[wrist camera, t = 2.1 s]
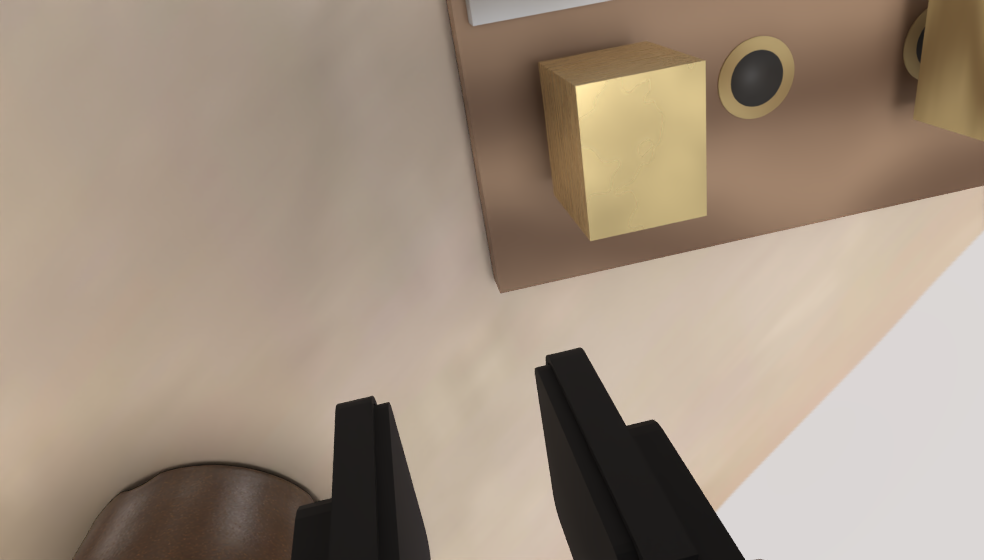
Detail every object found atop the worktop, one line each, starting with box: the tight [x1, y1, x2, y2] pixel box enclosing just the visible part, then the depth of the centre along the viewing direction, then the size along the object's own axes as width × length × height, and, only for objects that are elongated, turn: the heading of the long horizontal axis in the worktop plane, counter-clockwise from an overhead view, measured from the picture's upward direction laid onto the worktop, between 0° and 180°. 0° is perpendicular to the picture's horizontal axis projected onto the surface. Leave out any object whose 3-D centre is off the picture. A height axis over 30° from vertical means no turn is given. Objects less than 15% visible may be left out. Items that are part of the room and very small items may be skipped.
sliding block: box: [538, 41, 707, 241], centre depth 24 cm, size 5×4×6 cm
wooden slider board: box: [446, 0, 984, 293], centre depth 25 cm, size 14×23×8 cm, turn 99°
